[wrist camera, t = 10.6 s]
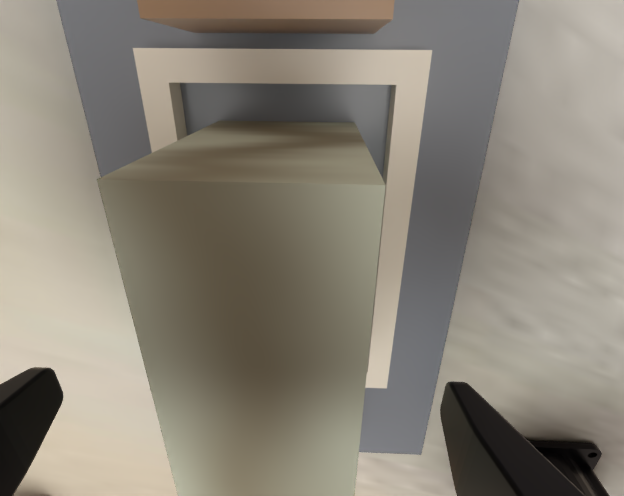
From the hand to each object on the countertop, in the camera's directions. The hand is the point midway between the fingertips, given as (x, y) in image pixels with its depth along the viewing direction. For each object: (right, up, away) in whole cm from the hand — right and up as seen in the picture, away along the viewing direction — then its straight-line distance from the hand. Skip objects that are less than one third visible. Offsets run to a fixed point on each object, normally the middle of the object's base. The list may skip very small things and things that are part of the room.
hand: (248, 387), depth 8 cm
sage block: (+1, +3, +7) cm, 8 cm away
